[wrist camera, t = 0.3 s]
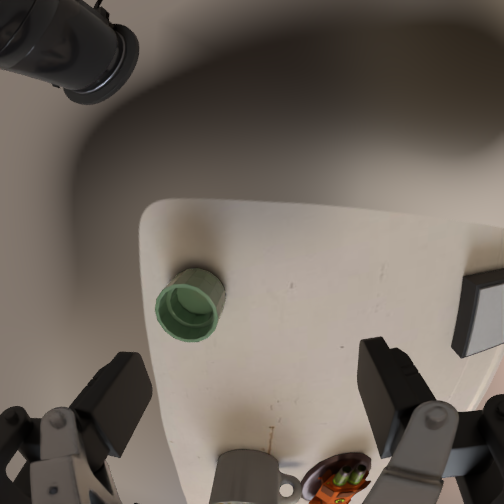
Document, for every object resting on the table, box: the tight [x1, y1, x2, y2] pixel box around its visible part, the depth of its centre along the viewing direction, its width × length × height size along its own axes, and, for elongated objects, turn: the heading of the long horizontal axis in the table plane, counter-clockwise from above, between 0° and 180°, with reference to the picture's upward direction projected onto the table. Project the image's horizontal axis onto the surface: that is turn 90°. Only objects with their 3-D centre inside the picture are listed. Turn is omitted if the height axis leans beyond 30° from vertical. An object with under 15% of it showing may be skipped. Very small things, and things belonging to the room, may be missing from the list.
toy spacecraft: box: [301, 453, 371, 504], centre depth 35 cm, size 12×20×6 cm, turn 175°
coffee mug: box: [209, 450, 302, 504], centre depth 33 cm, size 13×10×10 cm
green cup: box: [155, 268, 226, 342], centre depth 28 cm, size 6×6×5 cm
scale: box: [451, 269, 504, 359], centre depth 26 cm, size 10×10×3 cm
